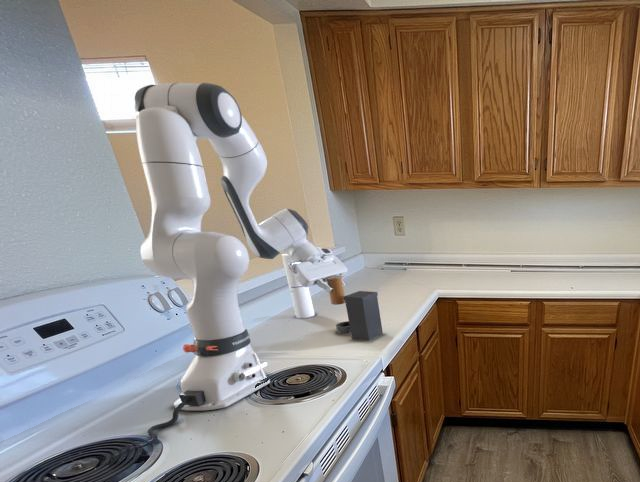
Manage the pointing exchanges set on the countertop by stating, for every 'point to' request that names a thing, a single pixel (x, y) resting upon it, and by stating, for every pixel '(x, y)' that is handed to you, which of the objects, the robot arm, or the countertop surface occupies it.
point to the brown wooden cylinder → (336, 289)
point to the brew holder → (343, 328)
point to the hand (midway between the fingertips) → (337, 289)
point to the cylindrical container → (298, 292)
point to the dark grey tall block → (363, 315)
